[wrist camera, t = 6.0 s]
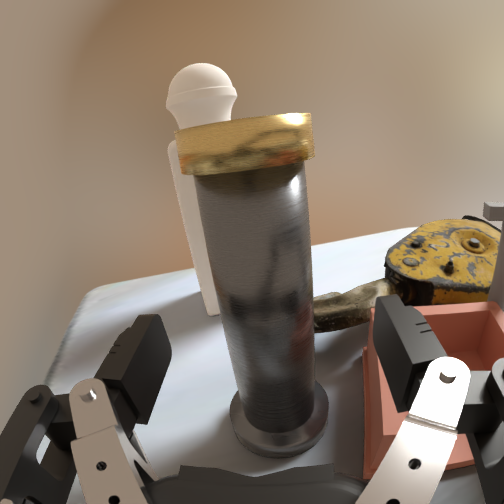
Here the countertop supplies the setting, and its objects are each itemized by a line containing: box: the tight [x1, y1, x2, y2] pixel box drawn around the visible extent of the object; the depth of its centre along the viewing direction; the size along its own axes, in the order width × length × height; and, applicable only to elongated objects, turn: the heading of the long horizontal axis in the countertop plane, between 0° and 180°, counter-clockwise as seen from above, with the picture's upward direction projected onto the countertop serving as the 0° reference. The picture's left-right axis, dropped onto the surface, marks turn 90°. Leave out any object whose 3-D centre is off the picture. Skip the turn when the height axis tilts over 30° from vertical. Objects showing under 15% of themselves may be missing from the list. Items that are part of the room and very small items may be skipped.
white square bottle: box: [166, 63, 237, 316], centre depth 26 cm, size 6×6×22 cm
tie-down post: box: [174, 113, 329, 458], centre depth 13 cm, size 6×6×16 cm
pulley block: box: [313, 216, 501, 333], centre depth 25 cm, size 14×6×30 cm
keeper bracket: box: [362, 202, 504, 479], centre depth 13 cm, size 11×11×11 cm
